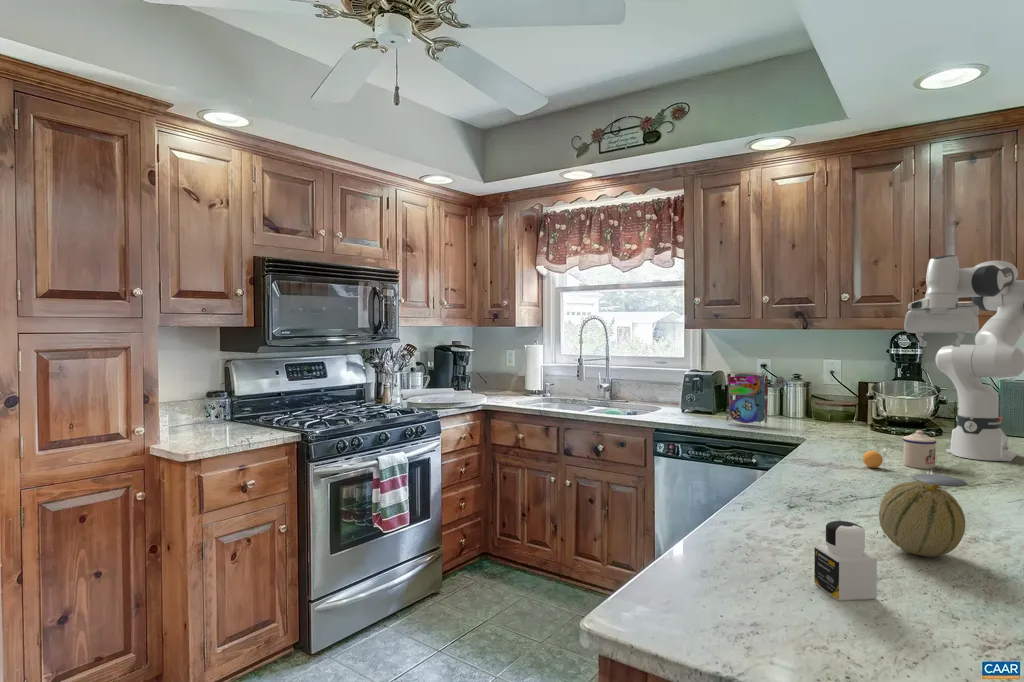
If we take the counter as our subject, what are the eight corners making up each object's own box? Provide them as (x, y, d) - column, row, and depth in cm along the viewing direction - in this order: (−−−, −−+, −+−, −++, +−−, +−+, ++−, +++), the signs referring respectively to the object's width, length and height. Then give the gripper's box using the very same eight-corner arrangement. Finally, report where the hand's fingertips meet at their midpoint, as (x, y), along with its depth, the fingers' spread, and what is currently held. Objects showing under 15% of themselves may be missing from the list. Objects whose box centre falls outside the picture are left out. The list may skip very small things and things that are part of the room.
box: (786, 428, 267) (787, 374, 266) (782, 430, 262) (782, 375, 262) (730, 423, 283) (730, 371, 282) (725, 425, 278) (725, 372, 278)
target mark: (925, 472, 188) (925, 472, 188) (974, 481, 177) (974, 481, 177) (904, 478, 181) (904, 478, 181) (954, 488, 170) (954, 487, 170)
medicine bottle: (813, 583, 109) (813, 518, 109) (850, 581, 110) (851, 516, 110) (837, 601, 102) (838, 531, 102) (877, 599, 103) (878, 530, 103)
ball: (868, 464, 199) (868, 448, 199) (885, 468, 194) (886, 451, 194) (859, 467, 196) (859, 450, 196) (877, 470, 191) (877, 453, 191)
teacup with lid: (932, 470, 190) (932, 434, 190) (899, 466, 197) (899, 430, 197) (941, 464, 199) (941, 429, 198) (908, 460, 205) (909, 426, 205)
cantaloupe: (883, 535, 133) (884, 468, 133) (966, 551, 124) (967, 479, 124) (872, 556, 122) (873, 482, 122) (962, 574, 113) (963, 495, 112)
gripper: (983, 304, 189) (981, 347, 188) (911, 306, 206) (909, 347, 205) (975, 301, 185) (973, 346, 185) (902, 304, 202) (900, 345, 202)
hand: (939, 346), depth 195 cm, fingers open, 8 cm apart
